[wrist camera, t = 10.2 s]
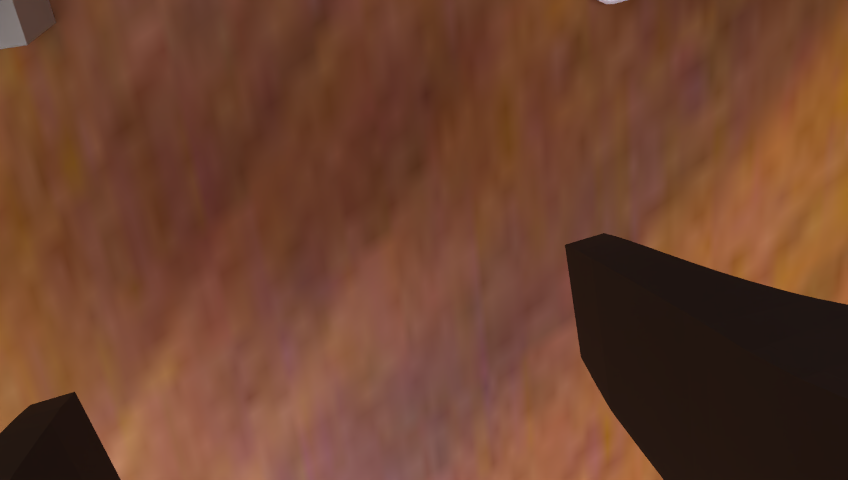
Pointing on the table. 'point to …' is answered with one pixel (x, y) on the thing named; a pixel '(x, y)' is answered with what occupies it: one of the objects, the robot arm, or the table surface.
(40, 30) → the gray block
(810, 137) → the table surface
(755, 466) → the robot arm
